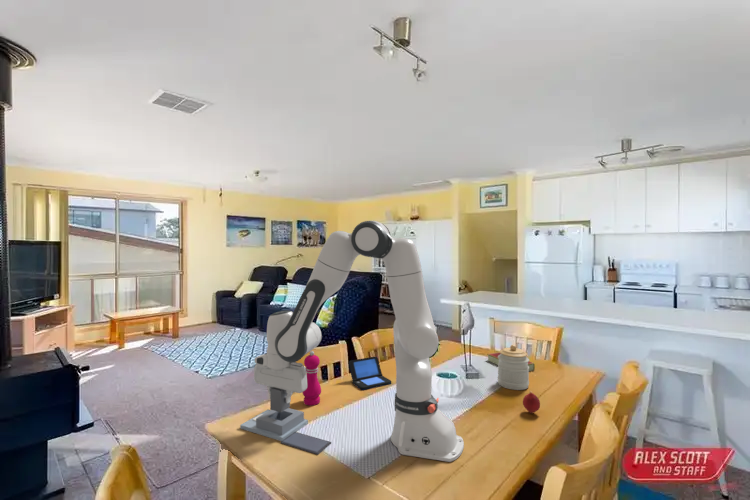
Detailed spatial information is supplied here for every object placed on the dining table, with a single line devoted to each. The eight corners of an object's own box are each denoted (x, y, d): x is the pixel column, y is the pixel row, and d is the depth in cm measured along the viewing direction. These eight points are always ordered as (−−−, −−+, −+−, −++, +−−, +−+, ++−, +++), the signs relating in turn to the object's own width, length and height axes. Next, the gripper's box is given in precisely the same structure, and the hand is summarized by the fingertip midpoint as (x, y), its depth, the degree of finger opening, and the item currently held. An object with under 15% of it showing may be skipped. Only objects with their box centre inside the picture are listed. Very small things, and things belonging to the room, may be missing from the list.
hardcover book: (505, 358, 201) (505, 351, 201) (534, 371, 181) (534, 362, 181) (486, 361, 197) (487, 353, 197) (515, 374, 177) (515, 365, 177)
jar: (531, 383, 164) (531, 343, 164) (525, 393, 153) (526, 350, 153) (501, 377, 171) (501, 339, 171) (494, 386, 160) (494, 346, 160)
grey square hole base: (308, 423, 126) (308, 411, 126) (282, 441, 115) (282, 428, 115) (267, 412, 135) (267, 401, 134) (240, 428, 123) (240, 415, 123)
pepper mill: (317, 407, 139) (317, 354, 139) (299, 405, 141) (299, 353, 140) (323, 399, 146) (323, 349, 146) (306, 397, 148) (306, 348, 147)
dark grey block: (289, 407, 124) (290, 385, 124) (281, 412, 120) (281, 390, 120) (279, 404, 126) (279, 383, 126) (270, 409, 122) (270, 388, 122)
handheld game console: (362, 391, 155) (362, 369, 155) (347, 381, 166) (347, 360, 166) (392, 384, 163) (392, 363, 163) (376, 375, 175) (376, 355, 174)
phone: (331, 445, 114) (331, 441, 114) (317, 456, 108) (318, 453, 108) (295, 434, 120) (295, 431, 120) (280, 445, 114) (280, 441, 114)
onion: (540, 411, 137) (540, 389, 136) (539, 418, 131) (540, 395, 131) (523, 408, 139) (523, 387, 139) (522, 414, 134) (522, 392, 134)
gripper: (311, 361, 121) (311, 403, 122) (264, 352, 130) (264, 391, 131) (299, 366, 116) (299, 410, 116) (250, 357, 125) (250, 398, 125)
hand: (280, 400), depth 123 cm, fingers closed on dark grey block, 4 cm apart
